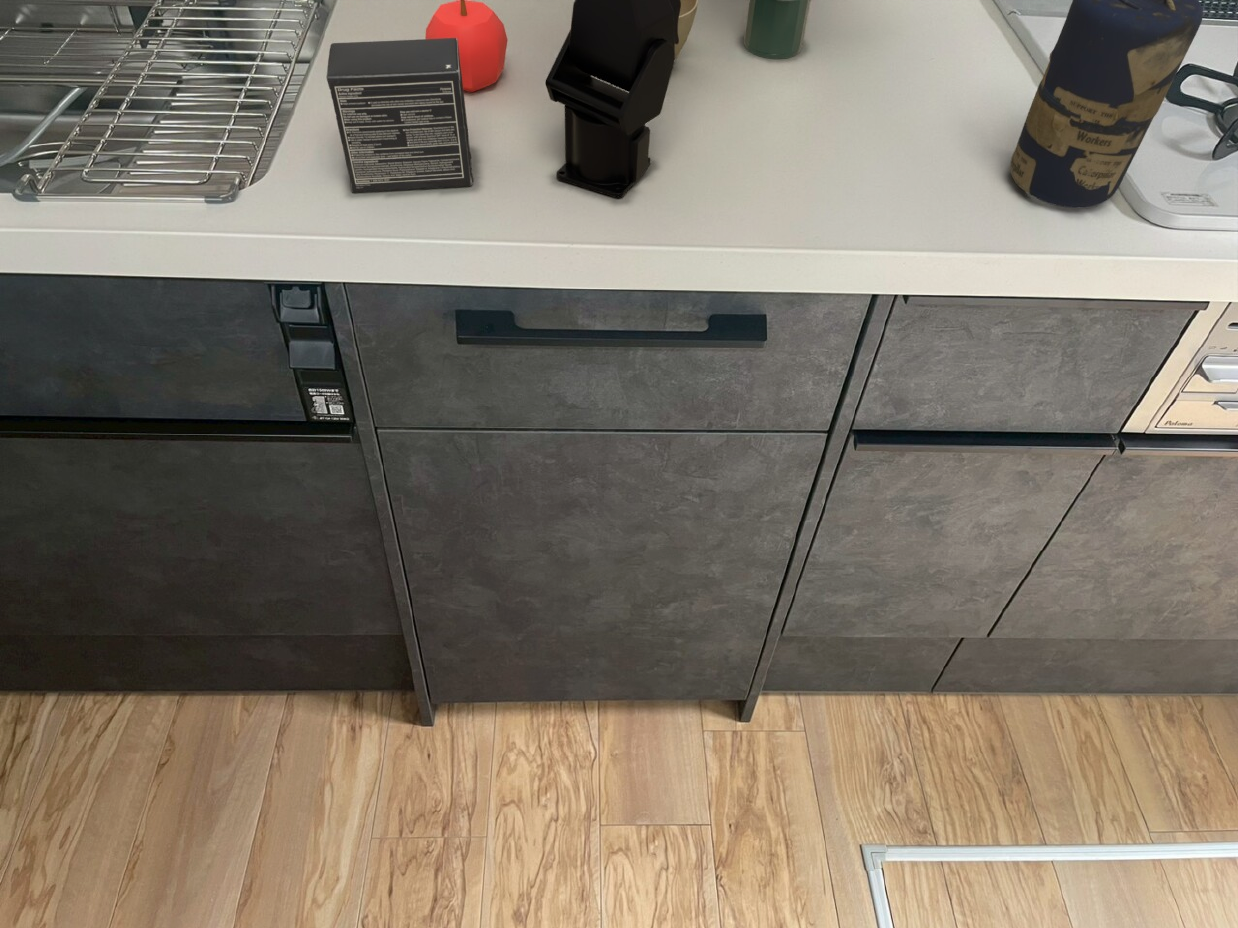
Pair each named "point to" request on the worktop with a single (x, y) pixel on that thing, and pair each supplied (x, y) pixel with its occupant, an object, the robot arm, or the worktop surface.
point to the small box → (401, 113)
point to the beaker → (776, 27)
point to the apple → (472, 40)
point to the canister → (1100, 96)
